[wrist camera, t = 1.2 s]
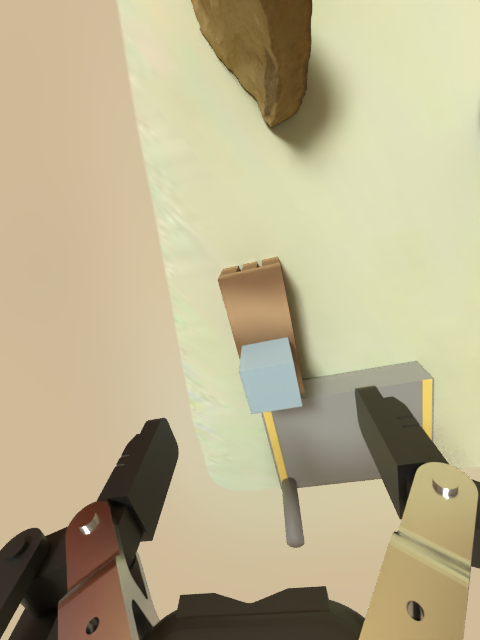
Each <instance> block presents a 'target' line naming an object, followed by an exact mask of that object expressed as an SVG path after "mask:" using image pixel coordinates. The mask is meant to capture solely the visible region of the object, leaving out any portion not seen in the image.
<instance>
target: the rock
mask: <svg viewBox="0 0 480 640" xmlns="http://www.w3.org/2000/svg"><path fill="white" fill-rule="evenodd" d="M191 1H192V4H193V8H194V12H195V15H196V17H197V20H198V22H199V24H200V31H201V32H202V34H203V35H204V36H205V37H206V39H207V40H208V41H209V43H210V44H211V46H212V48H213V49H214V51H215V53H216V55H217V56H218V58H220V59H221V60H222V61H223V62H224V64H225V66H226V67H227V68H228V69H230V70H232V71H233V73H234V74H235V75H236V76H237V78H238V79H239V82H240V84H241V85H242V86H243V87H244V88H245V89H246V90H247V91H248V92H250V93H251V94H252V95H253V96H254V97H255V98H256V99H257V102H258V105H259V108H260V110H261V112H262V116H263V118H264V120H265V121H266V122H267V123H268V125H269V126H270V127H273V126H275V125H277V124H279V123H280V122H282V121H283V120H286V119H287V118H289V117H291V116H292V115H294V114H295V113H296V112H297V111H298V109H299V107H300V105H301V103H302V98H303V96H304V95H305V91H306V87H307V72H308V61H309V58H310V52H311V16H312V0H191Z"/></svg>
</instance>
